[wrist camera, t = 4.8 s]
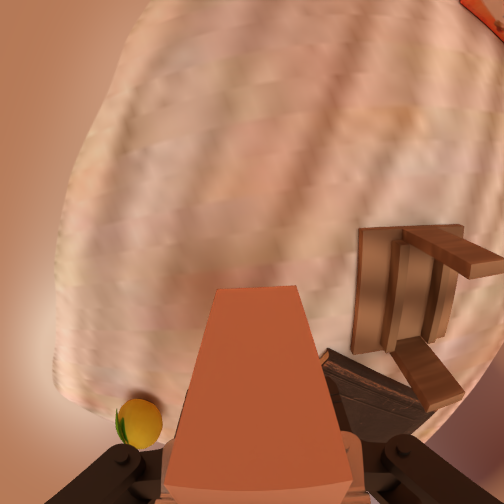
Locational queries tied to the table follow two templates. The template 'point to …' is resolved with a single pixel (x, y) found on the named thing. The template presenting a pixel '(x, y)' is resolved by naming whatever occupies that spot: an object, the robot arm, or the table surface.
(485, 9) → the cracker box
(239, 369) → the door panel
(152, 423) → the lemon
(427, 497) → the robot arm
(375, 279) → the track frame
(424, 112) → the table surface
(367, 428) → the hardcover book
